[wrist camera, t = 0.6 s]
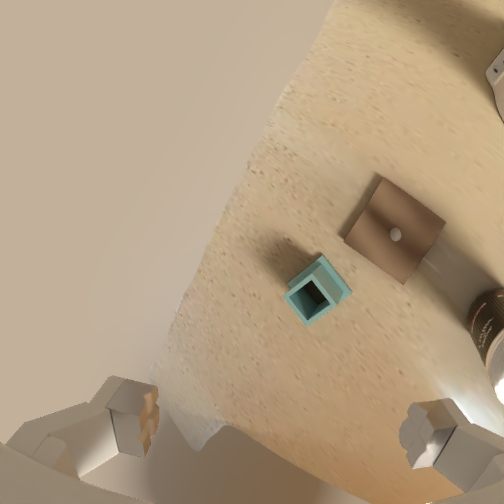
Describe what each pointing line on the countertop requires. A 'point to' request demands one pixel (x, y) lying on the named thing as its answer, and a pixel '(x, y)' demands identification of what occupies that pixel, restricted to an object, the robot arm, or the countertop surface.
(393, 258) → the walnut post base
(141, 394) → the robot arm
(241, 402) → the countertop surface
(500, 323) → the black white cylinder
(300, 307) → the flanged sleeve
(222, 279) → the countertop surface
